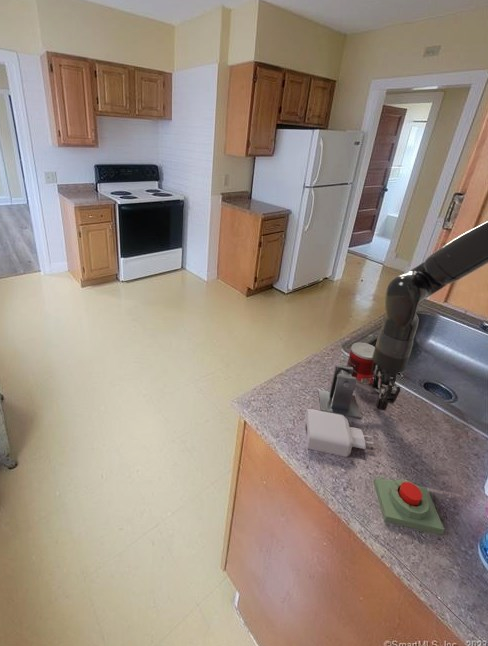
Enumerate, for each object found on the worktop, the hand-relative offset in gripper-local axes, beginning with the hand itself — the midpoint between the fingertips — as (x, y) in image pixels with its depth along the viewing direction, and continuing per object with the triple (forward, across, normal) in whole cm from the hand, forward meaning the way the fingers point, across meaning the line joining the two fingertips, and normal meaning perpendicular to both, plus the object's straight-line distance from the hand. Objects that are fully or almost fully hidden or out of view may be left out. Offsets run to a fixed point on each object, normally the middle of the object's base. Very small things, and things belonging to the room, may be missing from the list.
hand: (377, 400), depth 86 cm
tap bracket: (+4, 0, +9) cm, 10 cm away
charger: (+4, -12, +11) cm, 17 cm away
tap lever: (-3, 0, +6) cm, 6 cm away
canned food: (+4, +13, +1) cm, 14 cm away
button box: (+4, -25, 0) cm, 25 cm away
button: (+1, -25, 0) cm, 25 cm away
